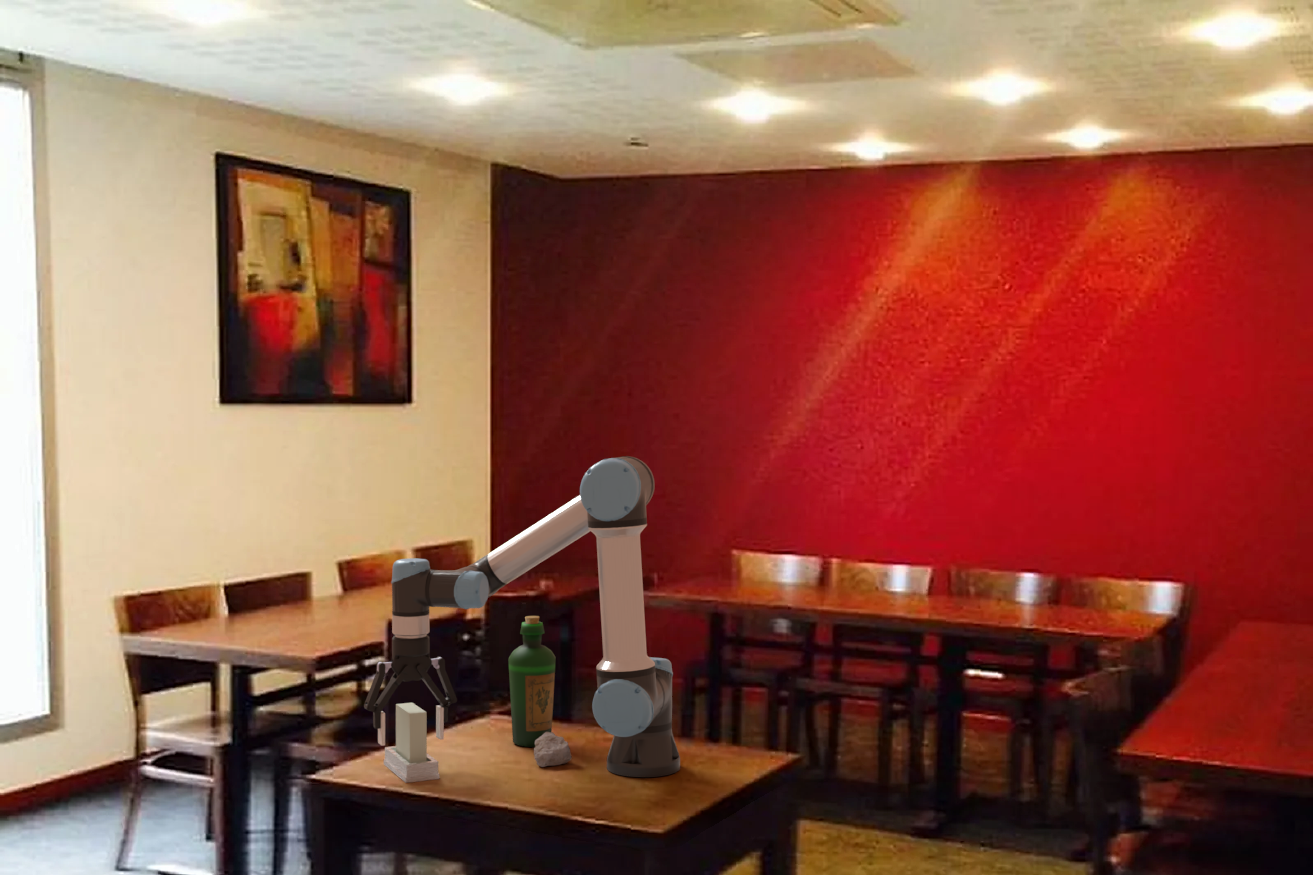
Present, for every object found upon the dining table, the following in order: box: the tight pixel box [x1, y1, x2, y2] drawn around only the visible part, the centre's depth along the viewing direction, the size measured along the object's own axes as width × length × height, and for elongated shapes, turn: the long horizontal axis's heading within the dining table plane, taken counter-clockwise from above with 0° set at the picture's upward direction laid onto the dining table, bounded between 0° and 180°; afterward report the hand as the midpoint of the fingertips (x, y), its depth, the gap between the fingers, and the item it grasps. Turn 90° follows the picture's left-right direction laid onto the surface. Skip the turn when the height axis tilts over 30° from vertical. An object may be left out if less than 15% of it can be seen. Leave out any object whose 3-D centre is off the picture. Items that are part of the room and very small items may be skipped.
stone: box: [533, 731, 573, 768], centre depth 311 cm, size 10×8×6 cm
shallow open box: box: [383, 745, 440, 784], centre depth 303 cm, size 16×7×4 cm, turn 26°
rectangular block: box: [395, 702, 428, 763], centre depth 303 cm, size 10×4×12 cm, turn 26°
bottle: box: [507, 615, 557, 748], centre depth 327 cm, size 11×11×28 cm
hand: (410, 741), depth 303 cm, fingers open, 11 cm apart
